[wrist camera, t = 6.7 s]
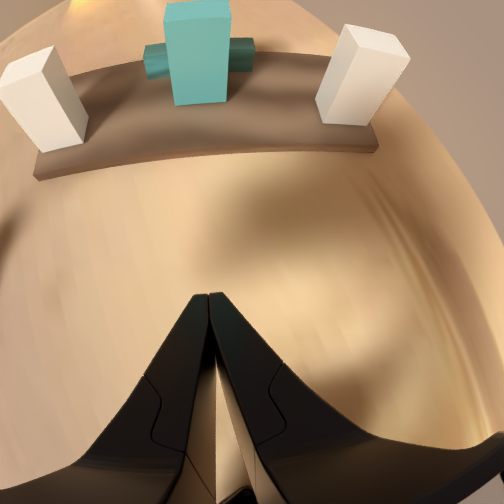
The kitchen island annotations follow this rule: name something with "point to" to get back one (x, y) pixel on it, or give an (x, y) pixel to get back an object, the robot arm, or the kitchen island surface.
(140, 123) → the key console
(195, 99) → the teal key
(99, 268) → the kitchen island surface
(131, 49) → the kitchen island surface
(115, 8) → the kitchen island surface
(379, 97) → the grey key
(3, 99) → the grey key
